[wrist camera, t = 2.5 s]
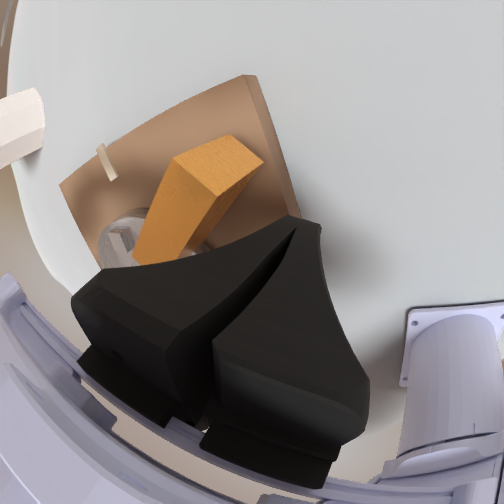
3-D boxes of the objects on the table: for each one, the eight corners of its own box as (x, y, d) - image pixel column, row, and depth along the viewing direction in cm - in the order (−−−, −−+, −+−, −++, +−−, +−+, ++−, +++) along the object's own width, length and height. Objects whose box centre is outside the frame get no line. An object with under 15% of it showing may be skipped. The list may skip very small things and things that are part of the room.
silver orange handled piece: (197, 346, 25) (167, 389, 21) (107, 264, 24) (68, 299, 20) (360, 227, 12) (345, 311, 8) (173, 73, 11) (83, 85, 7)
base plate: (333, 365, 21) (329, 381, 20) (158, 337, 32) (151, 346, 31) (253, 68, 11) (238, 66, 10) (68, 175, 22) (55, 181, 21)
